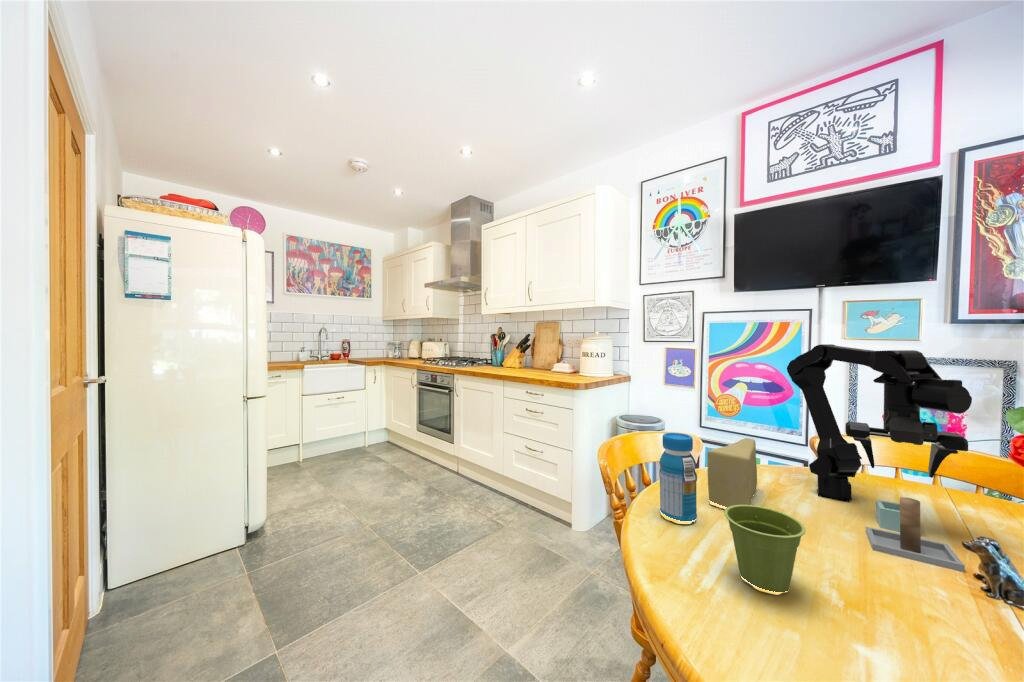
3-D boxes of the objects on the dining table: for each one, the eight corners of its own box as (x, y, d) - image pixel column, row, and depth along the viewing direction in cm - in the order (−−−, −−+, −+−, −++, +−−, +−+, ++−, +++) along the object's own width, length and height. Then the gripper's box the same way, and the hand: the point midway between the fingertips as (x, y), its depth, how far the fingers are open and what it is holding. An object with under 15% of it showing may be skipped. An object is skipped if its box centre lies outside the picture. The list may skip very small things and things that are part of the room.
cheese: (734, 483, 111) (734, 434, 111) (773, 493, 103) (772, 440, 104) (706, 505, 96) (706, 448, 96) (749, 518, 89) (748, 456, 89)
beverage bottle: (659, 522, 87) (658, 438, 87) (659, 507, 94) (658, 430, 95) (699, 529, 83) (698, 441, 84) (695, 513, 91) (695, 433, 91)
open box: (880, 530, 82) (880, 508, 82) (875, 520, 87) (875, 499, 87) (919, 538, 79) (919, 515, 79) (912, 527, 84) (912, 505, 84)
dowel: (902, 550, 73) (901, 500, 73) (898, 544, 75) (898, 496, 76) (922, 555, 72) (922, 504, 72) (918, 549, 74) (918, 499, 74)
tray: (872, 552, 74) (872, 543, 74) (865, 534, 81) (865, 526, 81) (965, 575, 66) (964, 565, 66) (947, 553, 73) (947, 544, 73)
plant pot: (712, 562, 71) (711, 504, 71) (774, 563, 70) (774, 504, 70) (750, 606, 59) (749, 535, 59) (825, 607, 58) (824, 536, 58)
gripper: (848, 404, 84) (848, 472, 84) (977, 416, 72) (976, 495, 72) (845, 398, 92) (845, 460, 92) (960, 407, 80) (959, 478, 80)
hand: (900, 472), depth 84 cm, fingers open, 9 cm apart
